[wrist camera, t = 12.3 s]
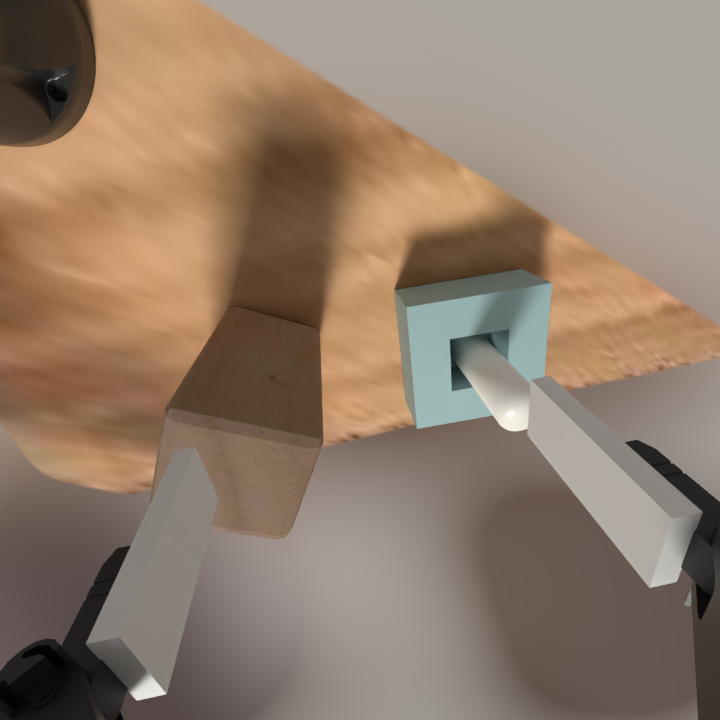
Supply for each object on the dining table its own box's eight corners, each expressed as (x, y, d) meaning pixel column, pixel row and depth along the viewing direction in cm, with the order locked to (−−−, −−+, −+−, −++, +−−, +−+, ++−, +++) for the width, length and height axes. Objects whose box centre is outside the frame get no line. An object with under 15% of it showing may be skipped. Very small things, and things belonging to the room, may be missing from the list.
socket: (394, 289, 41) (406, 307, 36) (521, 268, 42) (552, 283, 37) (405, 399, 48) (417, 428, 42) (516, 380, 48) (541, 406, 43)
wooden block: (322, 326, 42) (328, 439, 25) (298, 402, 46) (288, 547, 28) (229, 300, 40) (160, 404, 22) (212, 382, 44) (142, 526, 26)
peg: (445, 328, 43) (497, 394, 30) (480, 322, 43) (547, 385, 31) (446, 360, 45) (496, 434, 32) (480, 354, 45) (543, 426, 32)
